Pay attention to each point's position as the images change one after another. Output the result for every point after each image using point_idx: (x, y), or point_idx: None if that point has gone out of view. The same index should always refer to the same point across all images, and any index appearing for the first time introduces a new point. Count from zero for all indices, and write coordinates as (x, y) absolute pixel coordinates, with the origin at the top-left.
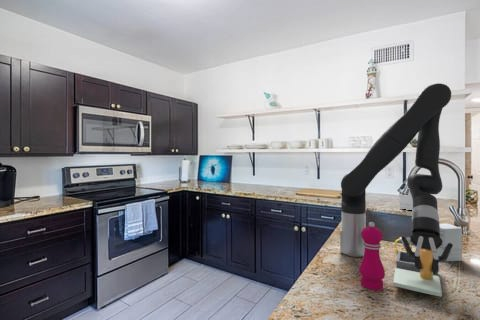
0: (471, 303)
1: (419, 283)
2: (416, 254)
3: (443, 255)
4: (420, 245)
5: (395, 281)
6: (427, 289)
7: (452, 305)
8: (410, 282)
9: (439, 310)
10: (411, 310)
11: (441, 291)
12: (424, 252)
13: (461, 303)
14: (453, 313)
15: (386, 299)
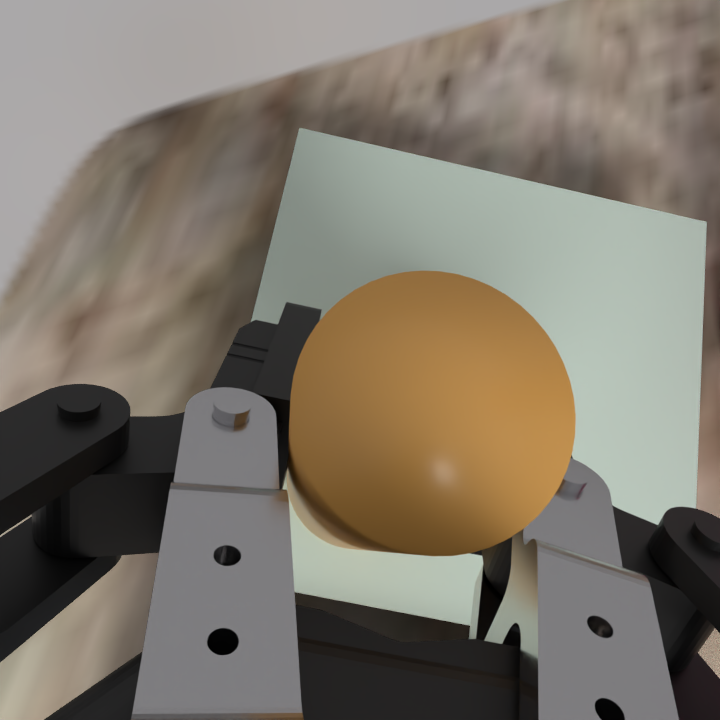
0: (24, 312)
1: (465, 271)
2: (581, 473)
3: (56, 433)
4: (570, 623)
5: (686, 241)
6: (413, 163)
7: (210, 223)
8: (549, 267)
9: (337, 118)
10: (528, 63)
11: (293, 158)
12: (490, 293)
13: (117, 283)
14: (249, 107)
15: (687, 157)
